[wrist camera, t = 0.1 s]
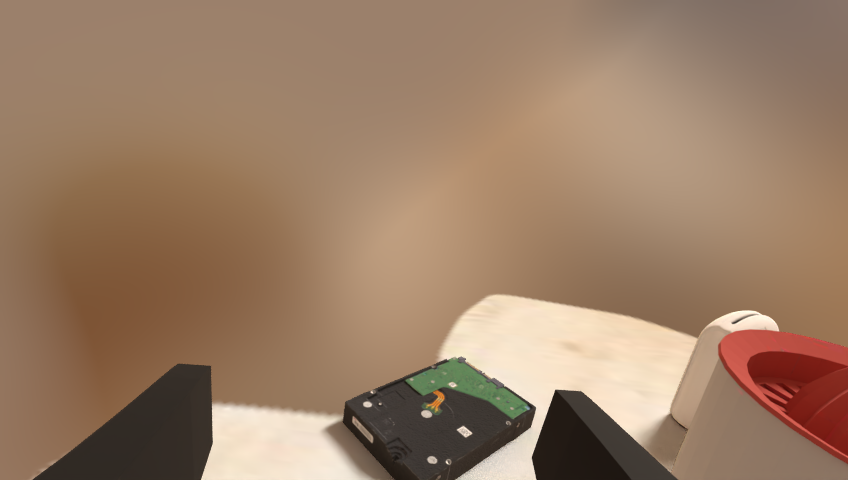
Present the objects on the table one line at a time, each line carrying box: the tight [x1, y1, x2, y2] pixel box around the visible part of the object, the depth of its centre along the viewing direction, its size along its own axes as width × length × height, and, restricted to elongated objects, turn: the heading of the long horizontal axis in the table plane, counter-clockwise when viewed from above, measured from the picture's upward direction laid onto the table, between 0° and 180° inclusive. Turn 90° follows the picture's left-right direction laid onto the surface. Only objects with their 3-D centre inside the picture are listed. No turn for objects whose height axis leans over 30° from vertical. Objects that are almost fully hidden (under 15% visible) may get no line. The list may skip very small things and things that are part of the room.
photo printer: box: [670, 311, 779, 429], centre depth 47 cm, size 10×4×12 cm, turn 121°
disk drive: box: [343, 357, 536, 480], centre depth 40 cm, size 10×3×15 cm
